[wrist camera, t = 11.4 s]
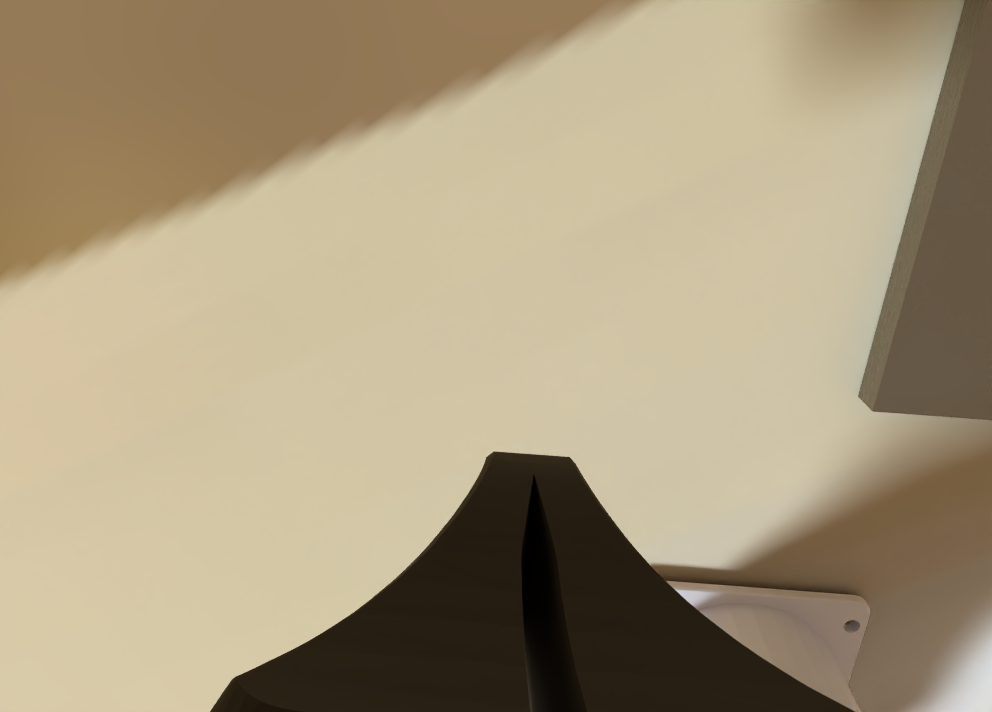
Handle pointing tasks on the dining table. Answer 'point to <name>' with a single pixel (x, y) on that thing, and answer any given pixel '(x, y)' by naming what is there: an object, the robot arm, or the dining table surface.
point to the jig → (945, 253)
